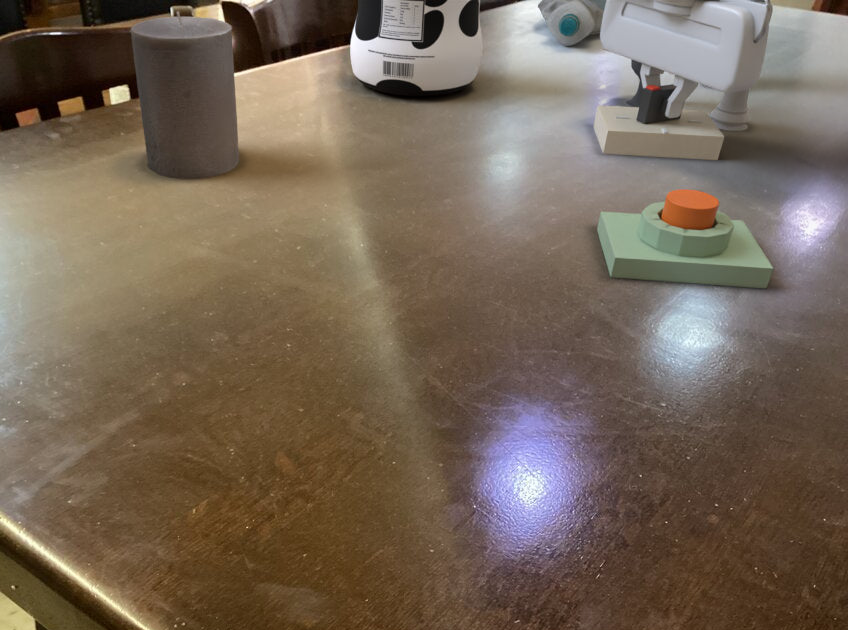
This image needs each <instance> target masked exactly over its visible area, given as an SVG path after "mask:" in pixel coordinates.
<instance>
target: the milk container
mask: <svg viewBox="0 0 848 630" xmlns="http://www.w3.org/2000/svg"><path fill="white" fill-rule="evenodd" d="M357 3H358V5H357V14H356V18H355V22H354V26H353V28H352V32H351V36H350V37H351V38H350V46H349V53H350V54H349V55H350V63H351V69H352V70H351V71H352V73H353V75H354V77H355V79H357V81H358V82H360V83H361V84H362V85H363V86H364V87H366V88H369V89H373V90H374V91H377V92H381V93H386V94H392V95H396V96H408V97H433V96H434V97H435V96H439V95H448V94H452V93H455V92H458V91H461V90H464V89H465V88H466V87H468V86H470V85H471V84H472V83H473V82H474V81H475V79H476V77H477V76H478V72H479V69H480V66H481V61H482V57H483V46H484V45H483V44H484V43H483V36H482V28H481V21H480V6H481V0H358V2H357Z"/></svg>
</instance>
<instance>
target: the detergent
mask: <svg viewBox="0 0 848 630" xmlns="http://www.w3.org/2000/svg"><path fill="white" fill-rule="evenodd" d="M605 4H606V0H541V1H540V2H539V3H538V4H537V8H538V9H539V11H540V13H541V15H542V17H543V19H544V20H545V21H546V25H547V27H548V29H549V32H550V33H551V34H552V36H553V38H555V40H556V41H557V42H559V44H561V45H563V46H564V47H571V46H574V45H576V44H577V43H579V42H581V41H582V40H584V39H585V38H586V37H588V36H595V35H598V34H600V31H601V24H602V19H603V14H604V9H605Z"/></svg>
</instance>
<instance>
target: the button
mask: <svg viewBox="0 0 848 630" xmlns="http://www.w3.org/2000/svg"><path fill="white" fill-rule="evenodd" d="M664 201H665V204H664V208H663V212H662V216H661V220H662V221H664V222H665V223H667V224H669V225H671V226H675V227H679V228H683V229H689V230H706V229H711V228H712V226H713V223H714V220H715V216H716V213H717V210H718V211H719V207H720V201H719V199H718V198H717V197H715V196H714V195H712V194H710V193H707V192H704V191H702V190H701V191H700V190H696V189H685V188H684V189H682V188H681V189H675V190H671V191H669V192H668V193H667V194H666V197H665V200H664Z"/></svg>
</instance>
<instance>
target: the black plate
mask: <svg viewBox="0 0 848 630" xmlns="http://www.w3.org/2000/svg"><path fill="white" fill-rule="evenodd" d="M676 87H677V86H674V85H673V83H672V84H671V83H670V84H664V85H663V84H662V85H661V86H655V85H649V86H646V88H643V93H642V97H641V101H640V106H639V110H638V115H637V119H636V120H637V121H639V122H641V123H643V124H648V123H655V122H661V121H668V120H675V119H680V117H681V114H680V116H679V117H676V118H668V117H665V116H663V115H661V114H660V113H659V110H660V108H661V102H662V99H663V98H669V97H670V96H671V94H672V93H673V91H674V90H675V89H676ZM684 105H685V103H684V104H683V106H684ZM682 110H684V107H683V108H682ZM681 113H682V112H681Z"/></svg>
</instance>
